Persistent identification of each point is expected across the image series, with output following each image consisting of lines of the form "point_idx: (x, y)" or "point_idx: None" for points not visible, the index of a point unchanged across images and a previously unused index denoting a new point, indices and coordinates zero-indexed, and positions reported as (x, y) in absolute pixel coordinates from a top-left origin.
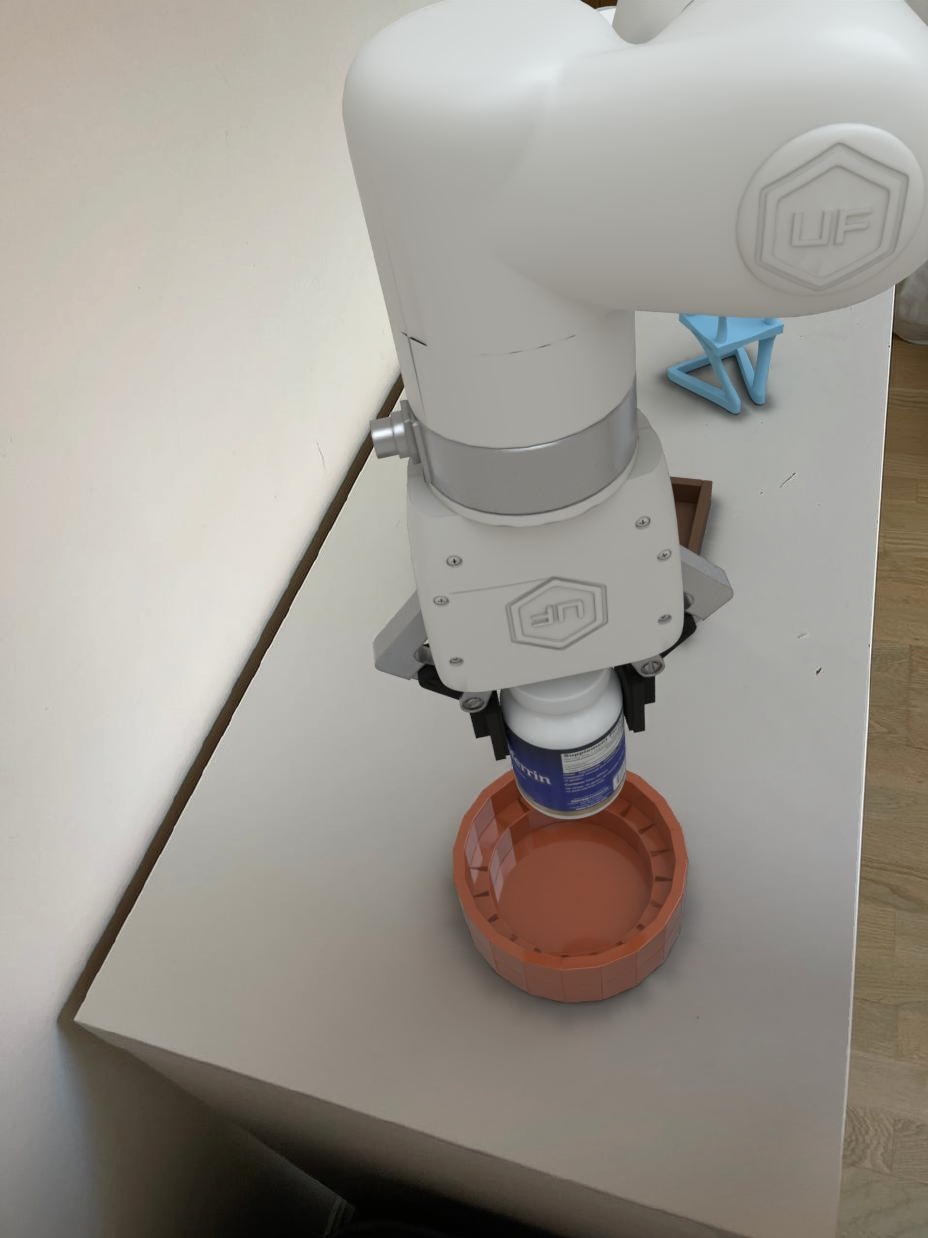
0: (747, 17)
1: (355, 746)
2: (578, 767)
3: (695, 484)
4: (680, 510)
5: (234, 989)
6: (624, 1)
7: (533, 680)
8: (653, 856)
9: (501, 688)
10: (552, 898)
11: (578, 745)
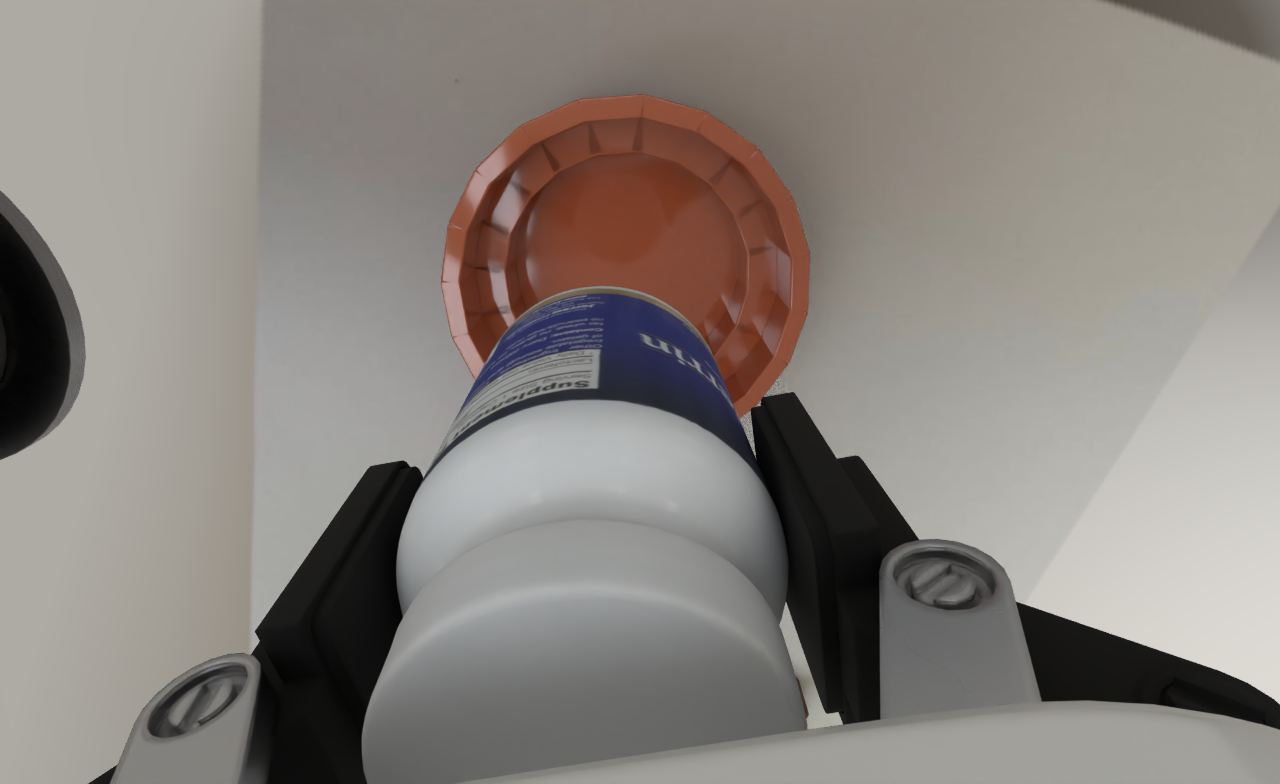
0: None
1: (916, 486)
2: (554, 360)
3: None
4: None
5: (1122, 130)
6: None
7: (696, 782)
8: (505, 305)
9: (934, 728)
10: (655, 258)
11: (534, 411)
